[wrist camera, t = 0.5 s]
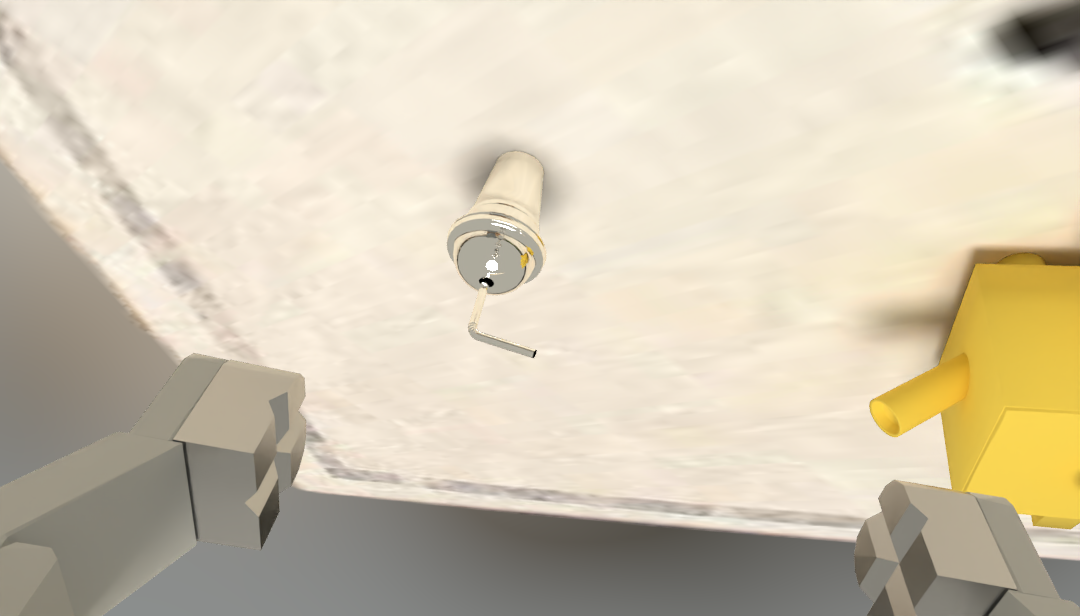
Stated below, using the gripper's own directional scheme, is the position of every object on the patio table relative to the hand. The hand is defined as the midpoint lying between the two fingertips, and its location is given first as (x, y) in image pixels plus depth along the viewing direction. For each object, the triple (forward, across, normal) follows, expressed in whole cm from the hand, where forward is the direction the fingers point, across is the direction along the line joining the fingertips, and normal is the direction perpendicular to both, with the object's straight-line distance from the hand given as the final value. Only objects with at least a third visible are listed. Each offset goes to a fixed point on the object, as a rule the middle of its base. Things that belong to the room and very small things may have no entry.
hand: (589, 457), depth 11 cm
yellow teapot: (+58, -46, +26) cm, 79 cm away
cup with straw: (+60, +4, +25) cm, 65 cm away
